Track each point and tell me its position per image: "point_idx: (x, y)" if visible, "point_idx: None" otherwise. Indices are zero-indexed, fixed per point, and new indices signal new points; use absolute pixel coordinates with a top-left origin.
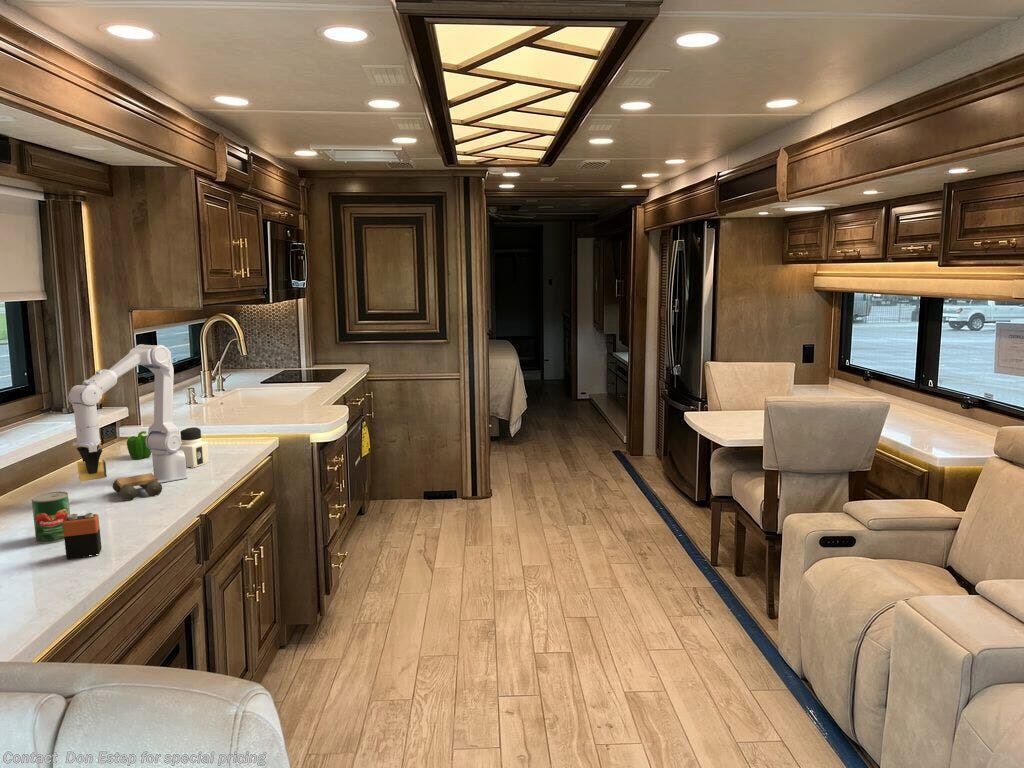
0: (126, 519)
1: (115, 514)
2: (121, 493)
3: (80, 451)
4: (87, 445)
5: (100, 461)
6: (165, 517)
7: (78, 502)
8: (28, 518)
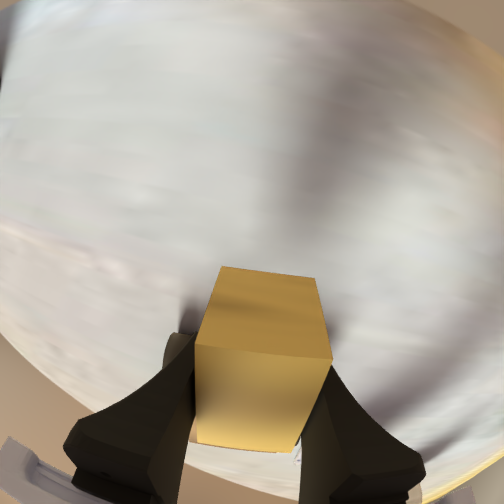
0: (12, 265)
1: (55, 262)
2: (167, 345)
3: (99, 458)
4: (13, 494)
5: (204, 437)
6: (6, 322)
7: (300, 214)
8: (201, 9)
